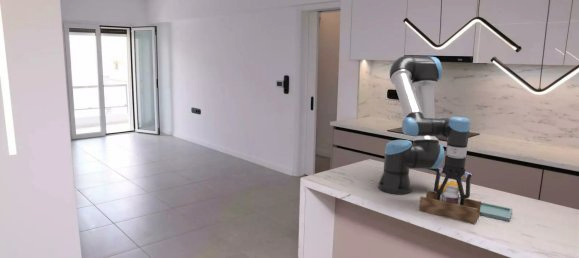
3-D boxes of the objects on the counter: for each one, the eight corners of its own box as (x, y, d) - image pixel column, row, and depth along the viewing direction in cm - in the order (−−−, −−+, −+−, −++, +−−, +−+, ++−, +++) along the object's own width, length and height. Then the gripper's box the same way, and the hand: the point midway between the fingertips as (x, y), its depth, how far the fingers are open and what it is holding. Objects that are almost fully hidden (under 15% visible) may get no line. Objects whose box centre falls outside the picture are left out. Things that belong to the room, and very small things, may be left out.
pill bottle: (460, 214, 163) (463, 188, 161) (451, 217, 160) (454, 190, 158) (447, 209, 168) (449, 184, 166) (437, 211, 165) (440, 186, 163)
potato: (430, 198, 181) (432, 183, 180) (448, 192, 190) (449, 178, 188) (445, 203, 175) (446, 187, 174) (462, 197, 184) (464, 182, 183)
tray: (474, 214, 164) (474, 210, 164) (479, 205, 175) (479, 201, 174) (509, 221, 157) (509, 218, 157) (512, 212, 168) (512, 208, 168)
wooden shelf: (419, 210, 166) (420, 196, 165) (425, 203, 174) (427, 190, 173) (475, 224, 154) (477, 209, 153) (479, 215, 163) (481, 201, 162)
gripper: (428, 153, 162) (422, 208, 166) (480, 162, 152) (472, 219, 156) (433, 150, 168) (427, 203, 172) (483, 158, 158) (476, 213, 162)
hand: (449, 210), depth 164 cm, fingers closed on pill bottle, 6 cm apart
